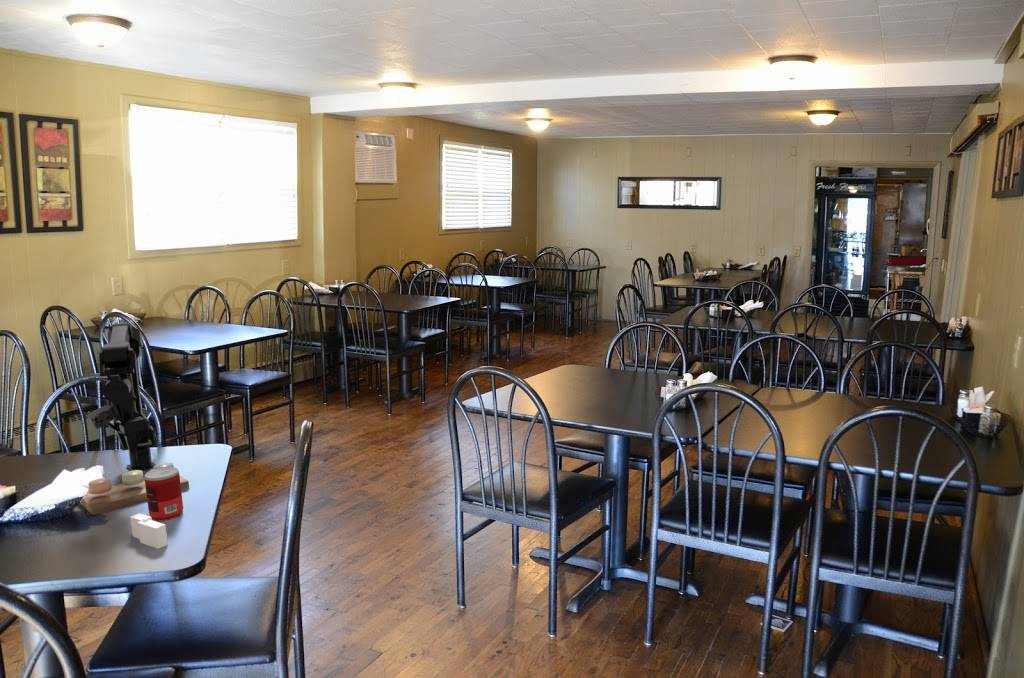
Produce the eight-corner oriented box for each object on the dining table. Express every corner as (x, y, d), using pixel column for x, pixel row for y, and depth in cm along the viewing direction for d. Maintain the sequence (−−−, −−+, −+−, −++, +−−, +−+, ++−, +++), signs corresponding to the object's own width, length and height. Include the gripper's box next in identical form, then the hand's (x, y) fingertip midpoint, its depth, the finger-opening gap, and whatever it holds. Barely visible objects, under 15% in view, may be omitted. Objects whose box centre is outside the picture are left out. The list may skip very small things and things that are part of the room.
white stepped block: (176, 550, 180) (173, 526, 179) (120, 559, 177) (116, 535, 176) (180, 524, 194) (177, 502, 193) (128, 532, 191) (125, 510, 190)
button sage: (120, 483, 213) (119, 473, 212) (140, 478, 216) (138, 468, 216) (126, 488, 209) (125, 478, 209) (146, 483, 212) (145, 473, 212)
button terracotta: (87, 492, 207) (86, 482, 207) (108, 486, 211) (106, 476, 210) (93, 497, 204) (91, 486, 203) (114, 491, 207) (112, 481, 207)
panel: (78, 502, 210) (77, 495, 209) (172, 477, 225) (171, 470, 225) (92, 514, 201) (91, 507, 201) (189, 488, 217) (188, 481, 216)
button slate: (151, 475, 218) (150, 465, 218) (170, 470, 221) (169, 461, 221) (158, 480, 214) (157, 470, 214) (177, 475, 218) (176, 465, 217)
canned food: (189, 508, 203) (184, 466, 201) (173, 521, 195) (168, 478, 193) (160, 508, 204) (155, 466, 202) (143, 521, 196) (137, 478, 194)
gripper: (77, 393, 209) (85, 451, 212) (99, 406, 196) (107, 467, 199) (122, 385, 217) (129, 441, 220) (146, 397, 203) (154, 456, 206)
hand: (129, 451), depth 211 cm, fingers open, 5 cm apart
